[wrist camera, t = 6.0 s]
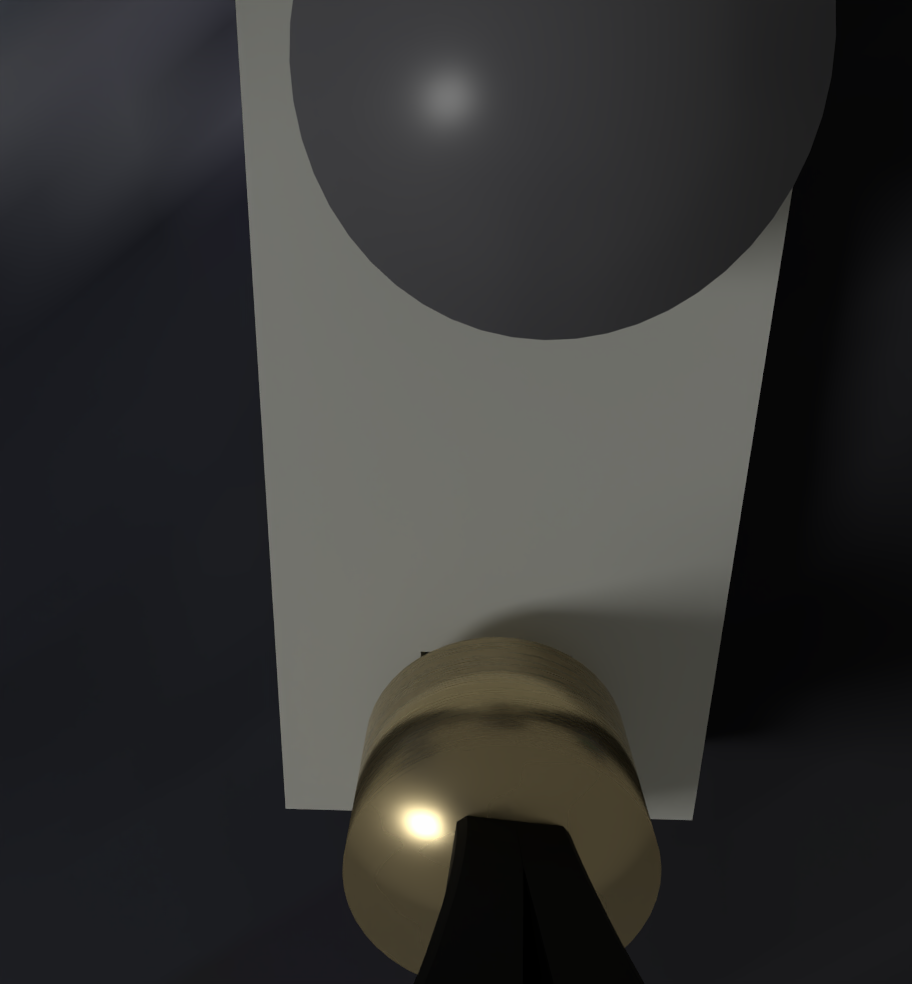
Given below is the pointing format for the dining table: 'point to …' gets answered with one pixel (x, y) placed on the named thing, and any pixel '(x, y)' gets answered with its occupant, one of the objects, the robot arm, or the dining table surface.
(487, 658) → the brass knob
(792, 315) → the dining table surface
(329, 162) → the graphite knob
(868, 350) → the dining table surface
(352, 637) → the mount board
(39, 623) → the dining table surface
